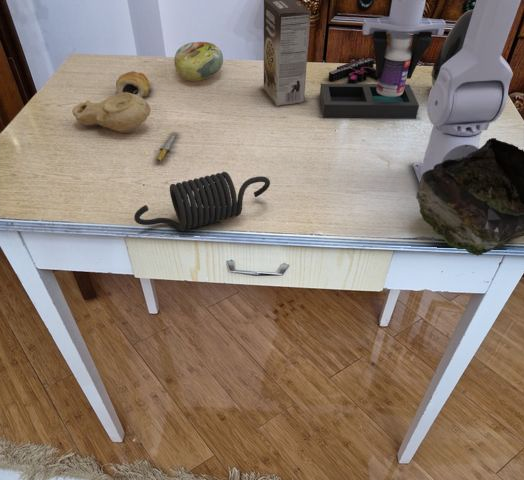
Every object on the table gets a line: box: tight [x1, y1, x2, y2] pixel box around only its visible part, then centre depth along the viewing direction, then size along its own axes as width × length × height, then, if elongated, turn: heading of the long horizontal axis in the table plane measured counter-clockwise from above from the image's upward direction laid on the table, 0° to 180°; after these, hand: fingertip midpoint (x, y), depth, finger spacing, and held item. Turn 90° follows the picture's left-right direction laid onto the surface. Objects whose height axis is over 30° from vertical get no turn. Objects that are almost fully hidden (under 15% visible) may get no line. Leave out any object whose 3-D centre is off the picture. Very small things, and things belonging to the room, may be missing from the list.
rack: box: [319, 82, 420, 119], centre depth 94 cm, size 10×18×2 cm, turn 89°
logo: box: [328, 57, 378, 84], centre depth 103 cm, size 13×2×10 cm
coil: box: [133, 171, 271, 232], centre depth 67 cm, size 7×20×9 cm
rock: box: [415, 137, 524, 257], centre depth 65 cm, size 18×20×10 cm
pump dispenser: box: [430, 8, 474, 86], centre depth 92 cm, size 10×10×15 cm
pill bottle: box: [376, 34, 413, 97], centre depth 89 cm, size 5×5×10 cm
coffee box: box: [263, 0, 312, 107], centre depth 92 cm, size 9×6×16 cm
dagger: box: [156, 134, 176, 163], centre depth 83 cm, size 11×1×2 cm
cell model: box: [173, 41, 224, 82], centre depth 103 cm, size 11×8×15 cm
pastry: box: [115, 70, 150, 98], centre depth 97 cm, size 9×7×4 cm
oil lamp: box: [71, 92, 151, 134], centre depth 86 cm, size 11×14×5 cm
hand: (393, 76), depth 90 cm, fingers closed on pill bottle, 5 cm apart
